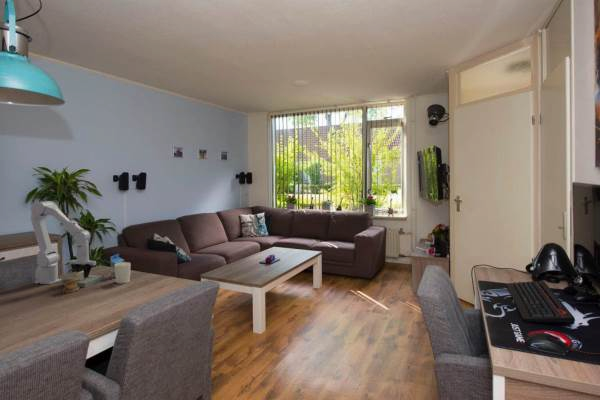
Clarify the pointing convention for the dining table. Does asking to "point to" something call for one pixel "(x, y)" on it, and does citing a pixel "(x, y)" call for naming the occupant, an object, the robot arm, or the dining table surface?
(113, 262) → the label tape box
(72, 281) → the wooden knob
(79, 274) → the tab block
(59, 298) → the dining table surface
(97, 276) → the notched board
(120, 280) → the white cup
